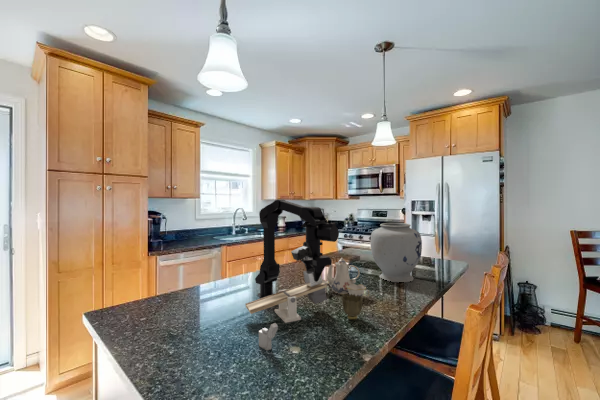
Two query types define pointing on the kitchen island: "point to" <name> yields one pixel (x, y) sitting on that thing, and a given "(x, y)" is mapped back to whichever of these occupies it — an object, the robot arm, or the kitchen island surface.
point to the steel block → (311, 278)
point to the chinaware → (344, 280)
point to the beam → (314, 295)
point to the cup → (352, 305)
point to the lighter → (267, 336)
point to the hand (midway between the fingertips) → (313, 279)
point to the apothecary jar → (396, 250)
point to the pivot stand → (288, 309)
